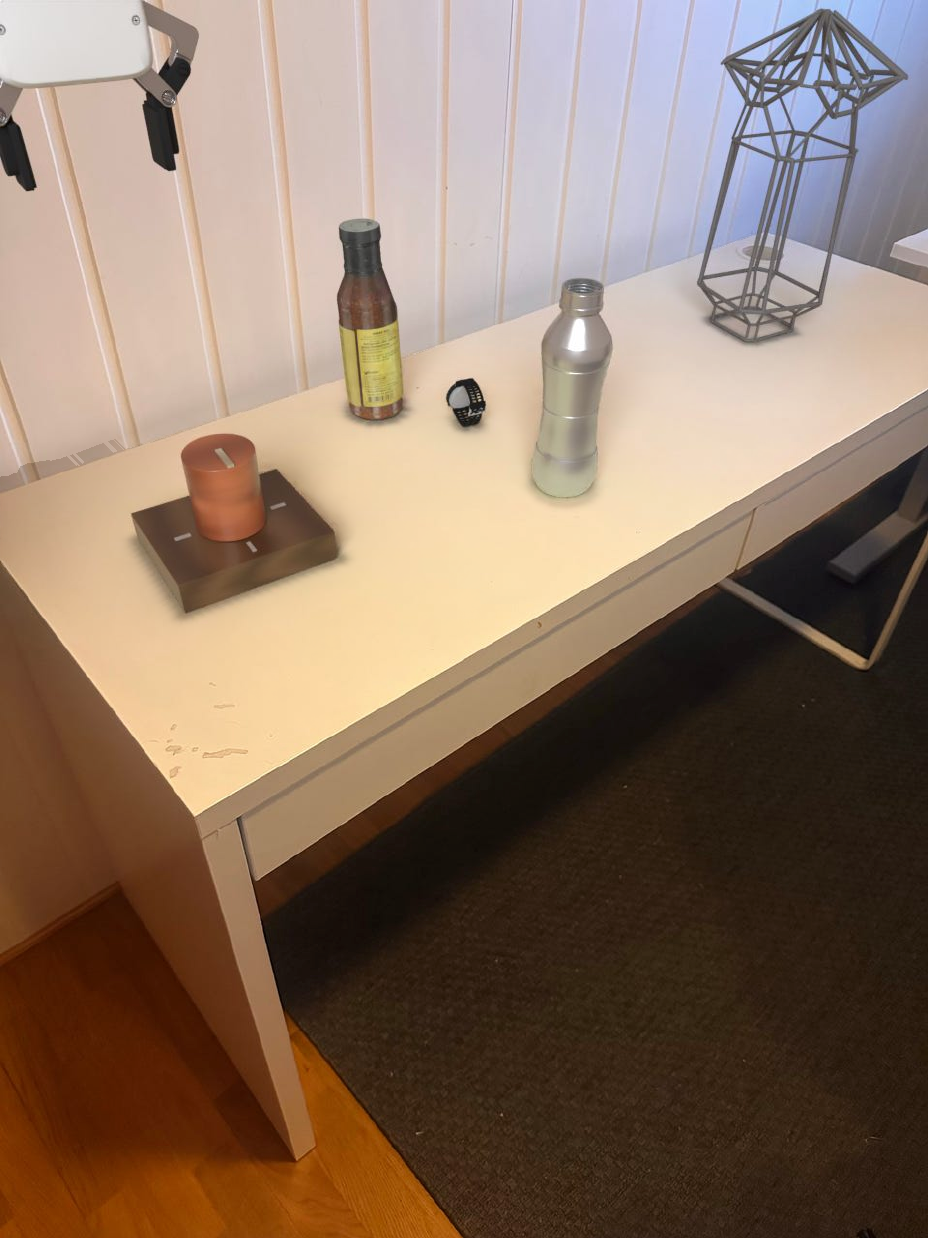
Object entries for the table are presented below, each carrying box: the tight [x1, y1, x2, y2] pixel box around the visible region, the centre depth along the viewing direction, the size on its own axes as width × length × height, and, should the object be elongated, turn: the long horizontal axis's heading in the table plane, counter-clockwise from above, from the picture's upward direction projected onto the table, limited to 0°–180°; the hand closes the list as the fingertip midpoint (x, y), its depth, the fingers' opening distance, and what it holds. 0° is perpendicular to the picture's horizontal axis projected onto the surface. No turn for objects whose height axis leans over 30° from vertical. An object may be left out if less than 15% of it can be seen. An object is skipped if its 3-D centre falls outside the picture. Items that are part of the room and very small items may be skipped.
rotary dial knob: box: [180, 433, 266, 542], centre depth 76 cm, size 6×6×7 cm
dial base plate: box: [130, 468, 338, 614], centre depth 79 cm, size 14×12×3 cm
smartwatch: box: [445, 377, 487, 428], centre depth 96 cm, size 4×5×5 cm
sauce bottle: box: [336, 218, 404, 421], centre depth 93 cm, size 7×6×20 cm
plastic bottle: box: [530, 277, 614, 498], centre depth 82 cm, size 6×7×20 cm
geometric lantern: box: [696, 7, 909, 343], centre depth 107 cm, size 16×16×35 cm
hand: (98, 175), depth 63 cm, fingers open, 9 cm apart
